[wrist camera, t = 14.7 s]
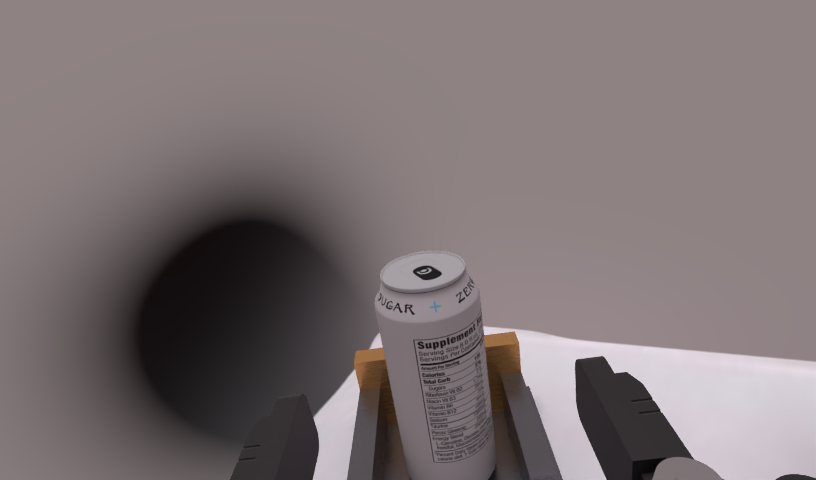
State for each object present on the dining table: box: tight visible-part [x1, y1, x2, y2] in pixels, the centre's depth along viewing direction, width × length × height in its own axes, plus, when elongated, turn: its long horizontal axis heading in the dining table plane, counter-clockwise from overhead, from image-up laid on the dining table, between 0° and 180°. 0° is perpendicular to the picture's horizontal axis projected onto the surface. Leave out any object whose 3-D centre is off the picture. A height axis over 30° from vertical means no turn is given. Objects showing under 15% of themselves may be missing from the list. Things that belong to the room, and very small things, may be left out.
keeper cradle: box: [347, 332, 563, 480], centre depth 31 cm, size 14×14×7 cm
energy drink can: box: [375, 251, 496, 480], centre depth 29 cm, size 6×6×15 cm
